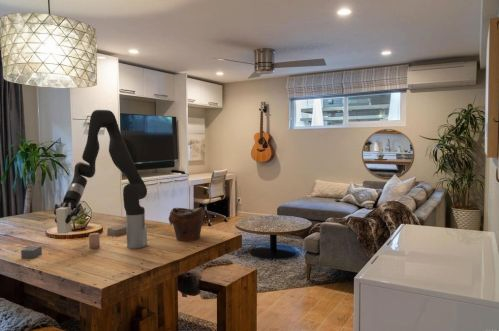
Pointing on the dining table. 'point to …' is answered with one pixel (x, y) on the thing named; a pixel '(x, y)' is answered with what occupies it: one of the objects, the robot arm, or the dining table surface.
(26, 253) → the grey squat block
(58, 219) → the tall cream block
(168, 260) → the dining table surface
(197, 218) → the dark brown pot
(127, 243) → the robot arm
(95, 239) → the pink rounded pebble
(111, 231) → the brick
